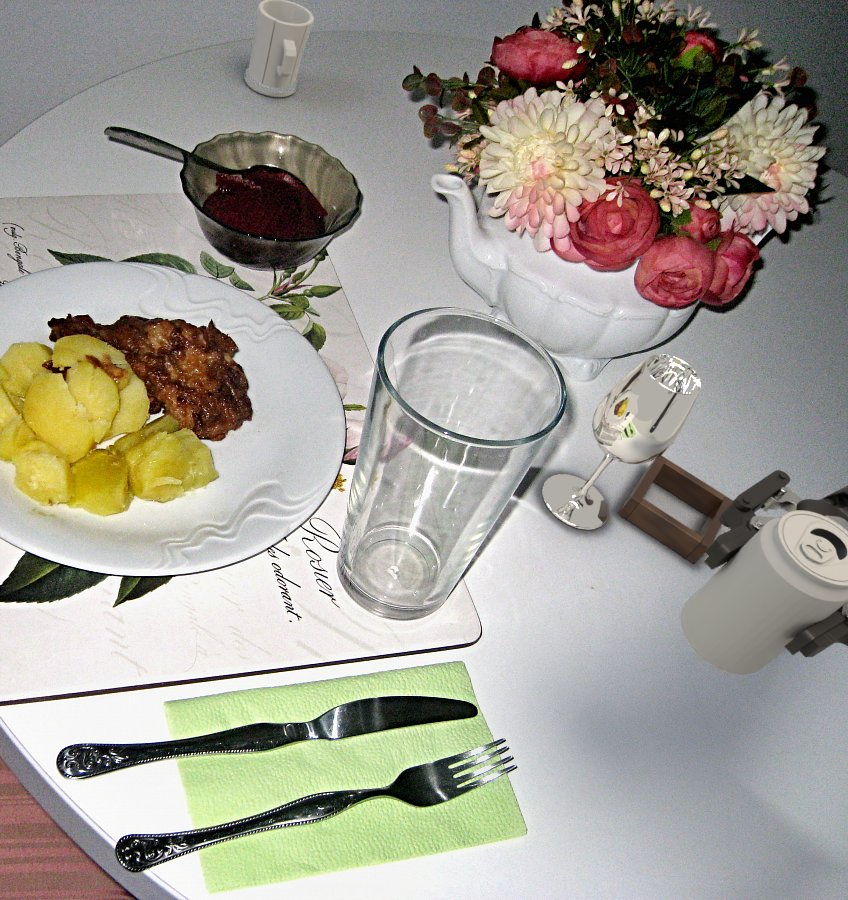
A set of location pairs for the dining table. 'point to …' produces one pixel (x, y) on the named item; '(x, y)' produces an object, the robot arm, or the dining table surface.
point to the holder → (667, 526)
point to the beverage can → (769, 593)
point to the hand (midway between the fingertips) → (754, 600)
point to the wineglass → (628, 433)
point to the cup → (278, 45)
